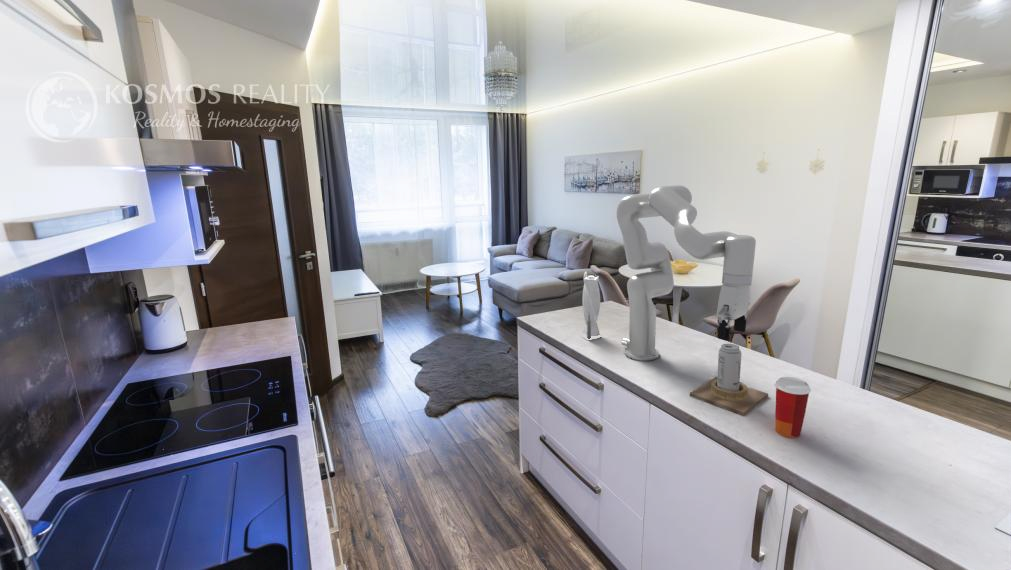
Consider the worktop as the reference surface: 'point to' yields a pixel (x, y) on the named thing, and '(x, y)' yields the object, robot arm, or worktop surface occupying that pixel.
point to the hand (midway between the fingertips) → (731, 335)
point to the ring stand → (729, 397)
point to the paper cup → (790, 405)
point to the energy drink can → (729, 367)
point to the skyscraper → (591, 305)
